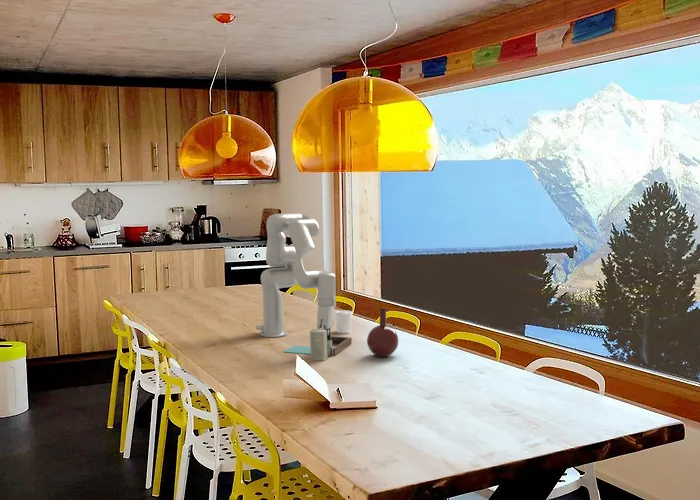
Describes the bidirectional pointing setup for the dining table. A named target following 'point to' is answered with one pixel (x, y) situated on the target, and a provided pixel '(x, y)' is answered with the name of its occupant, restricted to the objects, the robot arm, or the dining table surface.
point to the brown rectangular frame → (343, 344)
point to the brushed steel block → (329, 347)
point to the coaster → (298, 350)
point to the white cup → (343, 321)
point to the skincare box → (318, 344)
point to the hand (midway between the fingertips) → (326, 344)
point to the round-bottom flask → (382, 338)
